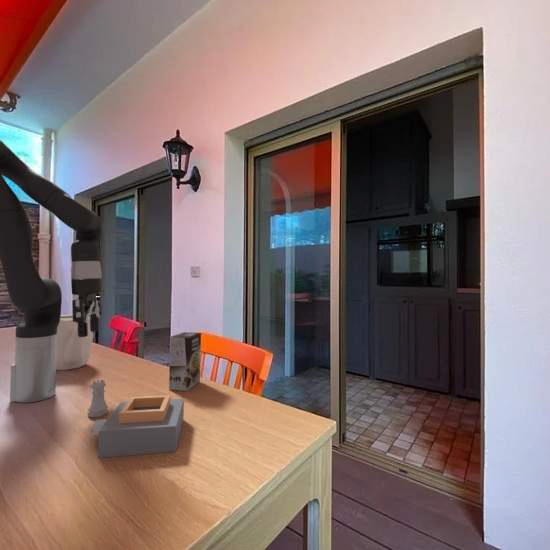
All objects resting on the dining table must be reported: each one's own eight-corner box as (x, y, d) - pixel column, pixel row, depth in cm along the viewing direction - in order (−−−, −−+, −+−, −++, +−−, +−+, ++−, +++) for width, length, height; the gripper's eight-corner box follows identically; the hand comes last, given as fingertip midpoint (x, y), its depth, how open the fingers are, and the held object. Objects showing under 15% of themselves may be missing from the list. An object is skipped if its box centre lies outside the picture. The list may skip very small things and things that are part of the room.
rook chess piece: (86, 419, 74) (87, 385, 74) (88, 412, 78) (88, 380, 78) (108, 416, 76) (108, 383, 76) (108, 409, 80) (109, 377, 80)
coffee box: (187, 391, 93) (188, 337, 93) (168, 389, 95) (169, 336, 95) (201, 381, 102) (202, 332, 102) (182, 380, 103) (183, 331, 104)
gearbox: (80, 459, 58) (81, 421, 58) (106, 424, 72) (107, 393, 72) (175, 451, 61) (176, 415, 61) (183, 419, 75) (184, 390, 75)
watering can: (53, 381, 101) (55, 322, 101) (33, 364, 118) (34, 314, 118) (105, 370, 112) (106, 318, 112) (80, 357, 130) (81, 311, 130)
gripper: (82, 278, 96) (85, 330, 96) (60, 278, 82) (62, 340, 82) (109, 277, 98) (111, 329, 98) (91, 276, 84) (94, 337, 84)
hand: (89, 333), depth 90 cm, fingers open, 8 cm apart
